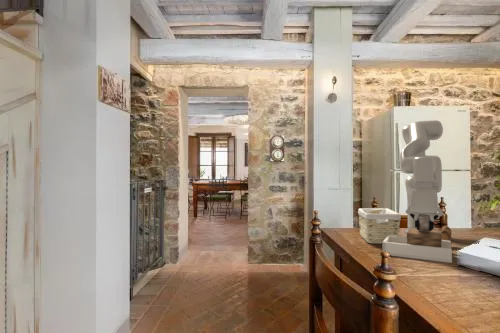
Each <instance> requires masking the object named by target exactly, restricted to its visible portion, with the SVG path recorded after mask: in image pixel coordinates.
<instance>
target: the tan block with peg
mask: <svg viewBox="0 0 500 333" xmlns="http://www.w3.org/2000/svg"><path fill="white" fill-rule="evenodd" d="M429 222H430V215H426V214H419V230H417V229H414V228H409V230H408V232H407V233H406V237H407V244H411V245H421V246H431V247H441V242H442V234H441V230H439V229H438V230H437V229H432V231H430V224H429Z"/></svg>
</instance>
